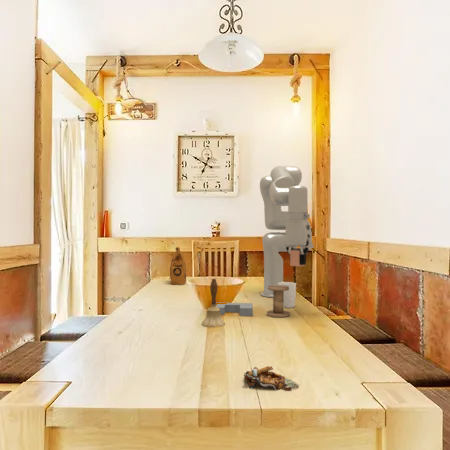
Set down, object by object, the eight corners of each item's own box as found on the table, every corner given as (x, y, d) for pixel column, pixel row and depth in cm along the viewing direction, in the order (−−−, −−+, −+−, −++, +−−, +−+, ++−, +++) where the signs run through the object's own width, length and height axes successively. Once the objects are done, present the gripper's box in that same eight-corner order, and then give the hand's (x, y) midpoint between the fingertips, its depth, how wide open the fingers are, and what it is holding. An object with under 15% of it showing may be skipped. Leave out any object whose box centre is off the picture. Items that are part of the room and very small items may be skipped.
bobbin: (266, 312, 155) (266, 284, 155) (288, 312, 154) (288, 285, 154) (267, 317, 146) (267, 288, 146) (291, 317, 145) (291, 288, 145)
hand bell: (230, 324, 136) (230, 278, 136) (213, 328, 129) (213, 281, 130) (213, 320, 141) (213, 276, 141) (196, 324, 135) (197, 278, 135)
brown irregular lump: (299, 394, 80) (298, 376, 80) (241, 390, 81) (241, 373, 81) (297, 380, 86) (297, 364, 86) (244, 377, 88) (244, 362, 88)
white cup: (295, 304, 170) (295, 282, 170) (296, 308, 162) (296, 284, 162) (277, 304, 171) (277, 281, 171) (277, 308, 163) (278, 284, 163)
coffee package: (168, 285, 225) (168, 247, 226) (170, 282, 238) (170, 246, 238) (185, 285, 226) (185, 247, 226) (186, 282, 238) (186, 246, 239)
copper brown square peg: (296, 265, 153) (296, 248, 154) (304, 265, 151) (304, 248, 151) (290, 265, 151) (290, 248, 151) (298, 266, 148) (298, 248, 148)
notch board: (252, 310, 157) (252, 303, 158) (252, 316, 148) (252, 308, 148) (213, 309, 158) (213, 302, 158) (211, 315, 148) (211, 307, 148)
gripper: (321, 217, 148) (321, 265, 147) (286, 218, 160) (286, 262, 159) (310, 216, 142) (310, 266, 142) (275, 217, 155) (274, 263, 154)
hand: (297, 263), depth 151 cm, fingers closed on copper brown square peg, 4 cm apart
